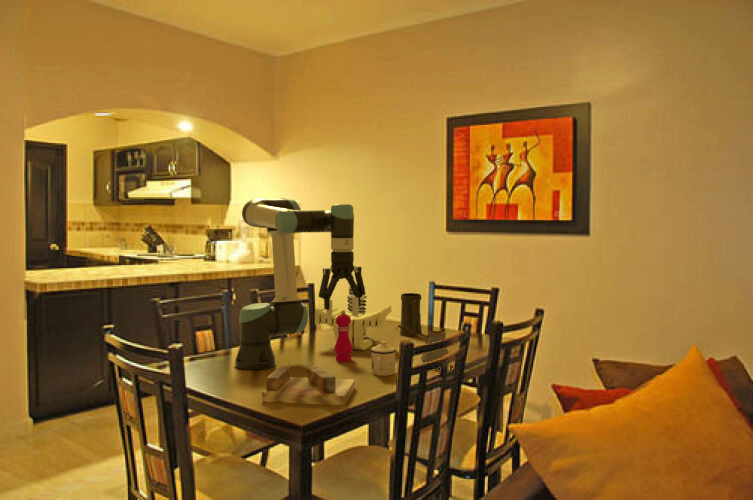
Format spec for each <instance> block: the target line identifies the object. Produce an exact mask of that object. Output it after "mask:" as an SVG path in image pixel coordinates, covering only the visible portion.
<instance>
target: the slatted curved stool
mask: <svg viewBox="0 0 753 500" xmlns="http://www.w3.org/2000/svg"><path fill="white" fill-rule="evenodd" d="M341 311H342V309H340V308H339V307H336V306H334V305H332V320H329V319H326V309H325V308H324V303H323V304H321V305H318V306H317V307H316V308H315V311H314V325H316V326H317V325H320V324H321V325H327V326H329V327H330V328H333V329H332V330H333V333H334V337H335V343H336V342H337V339H338V330H337V326H338V325H337V323H336V318H337V316H338V315H340V314H341ZM344 311H345V312H346V313H345V314H347V315H349V316H350V318H351V323H350V324H349V326H350V327H349V329H350V330H349V332H348V335H349V339H350V342H351V344H352V350H360V351H362V350H363V351H366V349H368V348H370V347H371V346H373V344H374V343H373V341H372V339H370V338H369V339H368V338H363V335H364V332H366V331H367V330H366V329H367V328H370V327H371V328H376V327H377V328H378V329H384V328H385V323H386V318H387V316H389V314H390V313H391V312H392V305H389V306H388V307H386V308H384V309H381V310H378V311H376V312H371V313H365V314H364V315H363V314H358V317H355V316H352V313H349V312H348V311H346V310H344ZM365 330H366V331H365Z"/></svg>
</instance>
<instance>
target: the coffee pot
mask: <svg viewBox="0 0 753 500" xmlns="http://www.w3.org/2000/svg"><path fill="white" fill-rule="evenodd" d="M399 328H402V329H404V330H406V331H407V332H409V333H411V334H414V335H416V336H415V337H419V338H421V339H423V340H425V341H426V344H428V343H432V342H436V341H440V340H444V334H445V332H444V331H442V330H441V331H440V330H430V331H429V330H428V331H427V335H428V337H426V336H423V335H419V334H417V333H416V332H414V331H412V330H410V329H407V328H405V327H402V326H401V324H400V325H399V324H397V327H396V330H398V329H399ZM448 353H449V350H448V348H447V347H446V348H445V349H441V350H437V351H434V352H430V353H425V354H423V353H422V354H421V356H420V359H421V362H422V364H424V363H425V362H429V361H433V360H436V359H438V358H441V357H443V356H444V355H446V354H448ZM449 354H450V353H449Z"/></svg>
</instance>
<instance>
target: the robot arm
mask: <svg viewBox="0 0 753 500" xmlns="http://www.w3.org/2000/svg"><path fill="white" fill-rule="evenodd" d="M241 209H242V211H241V217H242V220H243V221H244V223H245V224H246V225H248V226H250V227H253V228H260V229H262V228H264V229H267V230H266V232H267V234H268V235H269V236H270V237H271V247H272V249H271V250H272V260H273V261H272V263H273V264H272V265H273V278H274V280H273V281H274V293H275V294H274V295H275V297H274V299H272V301H271V303H268V302H258V303H257V302H256V303H250V304H248V305H245V306H243V307H242V308H241V309H240V310H239V319H238V322H239V324H238V325H239V348H238V349H237V354H236V356H235V360H234V361H235V362H234V363H235V365H234V366H235V368H237V367H238V368H237V369H239V368H241V369H240V370H245V369H248V370H250V371H253V370H254V371H255V370H265V369H270V368H272V367H274V366H276V357H275V354H274V351H273V348H272V343H271V338H272V337H279V336H285V335H295V334H300V333H301V332H303V331H304V330H305V328H306V327H307V324H308V321H309V311H308V309H307V305H306V304H305V303H303V302H302V298H300V296H299V295H298V287H297V274H296V273H297V272H296V271H297V270H296V258H295V257H296V256H295V239H294V235H295V234H297V233H300V234H301V233H330V250H332V251H331V252H330V253H331V254H330V262H331V265H330V267H323V268H322V279H321V284H320V289H319V292H318V298H321V299H323V304H324V308H325V309H326V319H329V320H332V307H333V299H331V297H332V295H333V293H334V290H335V289H336V287H337V284H338V282H339V281H340V280H343V279H345V280H346V281H347V283H348V285H349V287H351V289H352V291H353V293H354V296H355V297H352V316H355V317H358V306H360V297H362V295H365V296H366V287H365V285H364V280H363V276H362V275H363V274H362V266H357V265H356V266H355V265H354V257H355V255H354V254H355V252H354V251H352V250H355V249H354V245H355V244H354V236H355V234H354V232H355V231H354V230H355V224H354V223H355V222H354V221H355V219H354V218H355V215H354V206H353V205H352V204H348V203H347V204H345V203H343V204H341V203H339V204H336V203H335V204H332V205H331V208H330V209H329V210H327V209H321V210H319V209H318V210H317V209H316V210H311V209H310V210H308V209H307V210H305V209H303V210H301V207H300V205H299V203H298V201H296V200H295V199H291V198H284V197H283V198H277V197H276V198H275V197H274V198H269V197H268V198H267V197H266V198H263V197H258V198H254V199H251V200H249V201H247V202H246V203H245V204H244V205H243V207H242V208H241ZM353 272H354V274H353ZM331 274H332V275H331ZM354 277H355V278H354ZM356 284H357V285H356ZM364 287H365V288H364ZM248 370H247V371H248Z"/></svg>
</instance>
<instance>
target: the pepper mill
mask: <svg viewBox="0 0 753 500" xmlns="http://www.w3.org/2000/svg"><path fill="white" fill-rule="evenodd" d="M341 310H342V309H341ZM345 311H346V310H344V309H343V310H342V311H341V314H340V315H338V316H337V318H336V323H337V325H338V326H337V330H338V339H337V342H336V341H335V345H334V352H335V354H336V355H335V361H337V362H341V363H342V362H343V363H344V362H350V361H351V360H352V354H351V353H352V352H353V349H352V344H351V342H350V339H349V335H348V332H349V330H350V329H349V327H350V326H349V324H350V323H351V318H350V316H349V315H347V314H345V313H346V312H347V311H346V312H345Z"/></svg>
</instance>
